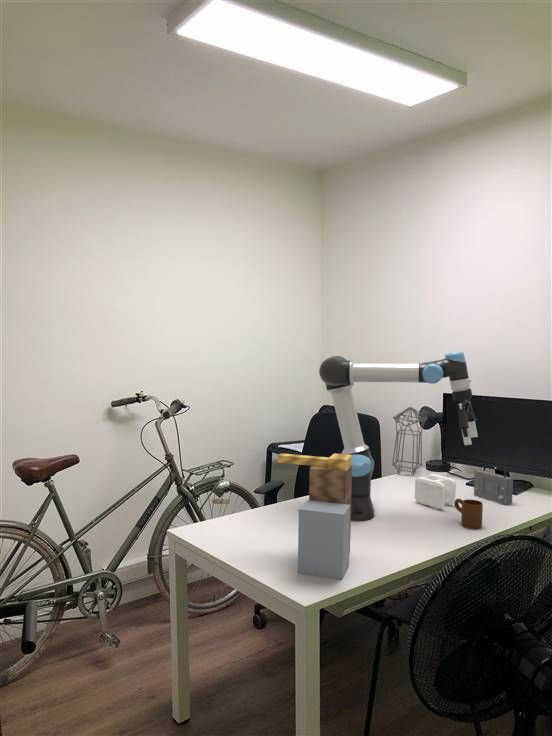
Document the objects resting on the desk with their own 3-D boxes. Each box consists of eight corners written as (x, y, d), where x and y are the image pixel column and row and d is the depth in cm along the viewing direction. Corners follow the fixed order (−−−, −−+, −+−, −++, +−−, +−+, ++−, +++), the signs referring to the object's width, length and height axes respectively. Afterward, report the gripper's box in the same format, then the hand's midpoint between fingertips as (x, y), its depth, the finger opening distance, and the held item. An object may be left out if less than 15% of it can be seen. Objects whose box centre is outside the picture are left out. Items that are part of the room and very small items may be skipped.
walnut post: (307, 558, 191) (309, 468, 188) (315, 547, 200) (317, 461, 198) (343, 563, 187) (346, 471, 185) (349, 551, 196) (352, 464, 194)
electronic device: (512, 504, 253) (514, 458, 251) (502, 506, 249) (504, 460, 247) (478, 494, 267) (480, 451, 265) (469, 496, 263) (470, 453, 262)
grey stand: (297, 572, 179) (298, 509, 178) (306, 560, 189) (307, 500, 187) (342, 579, 175) (343, 514, 173) (348, 566, 184) (350, 504, 183)
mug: (447, 521, 228) (448, 498, 228) (460, 518, 233) (461, 495, 232) (473, 530, 218) (474, 506, 218) (486, 527, 223) (487, 503, 222)
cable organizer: (457, 507, 247) (458, 480, 246) (441, 511, 241) (442, 484, 240) (428, 498, 259) (429, 472, 258) (413, 502, 253) (413, 476, 252)
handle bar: (275, 464, 193) (275, 453, 193) (282, 459, 201) (282, 449, 200) (346, 470, 186) (346, 460, 185) (351, 465, 193) (351, 454, 193)
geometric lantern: (395, 468, 313) (399, 404, 311) (425, 472, 306) (429, 407, 304) (387, 474, 299) (391, 407, 297) (418, 479, 292) (422, 410, 290)
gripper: (464, 392, 222) (475, 447, 223) (476, 383, 244) (485, 433, 244) (445, 395, 226) (455, 448, 226) (458, 386, 248) (467, 435, 248)
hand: (471, 440), depth 235 cm, fingers open, 13 cm apart
